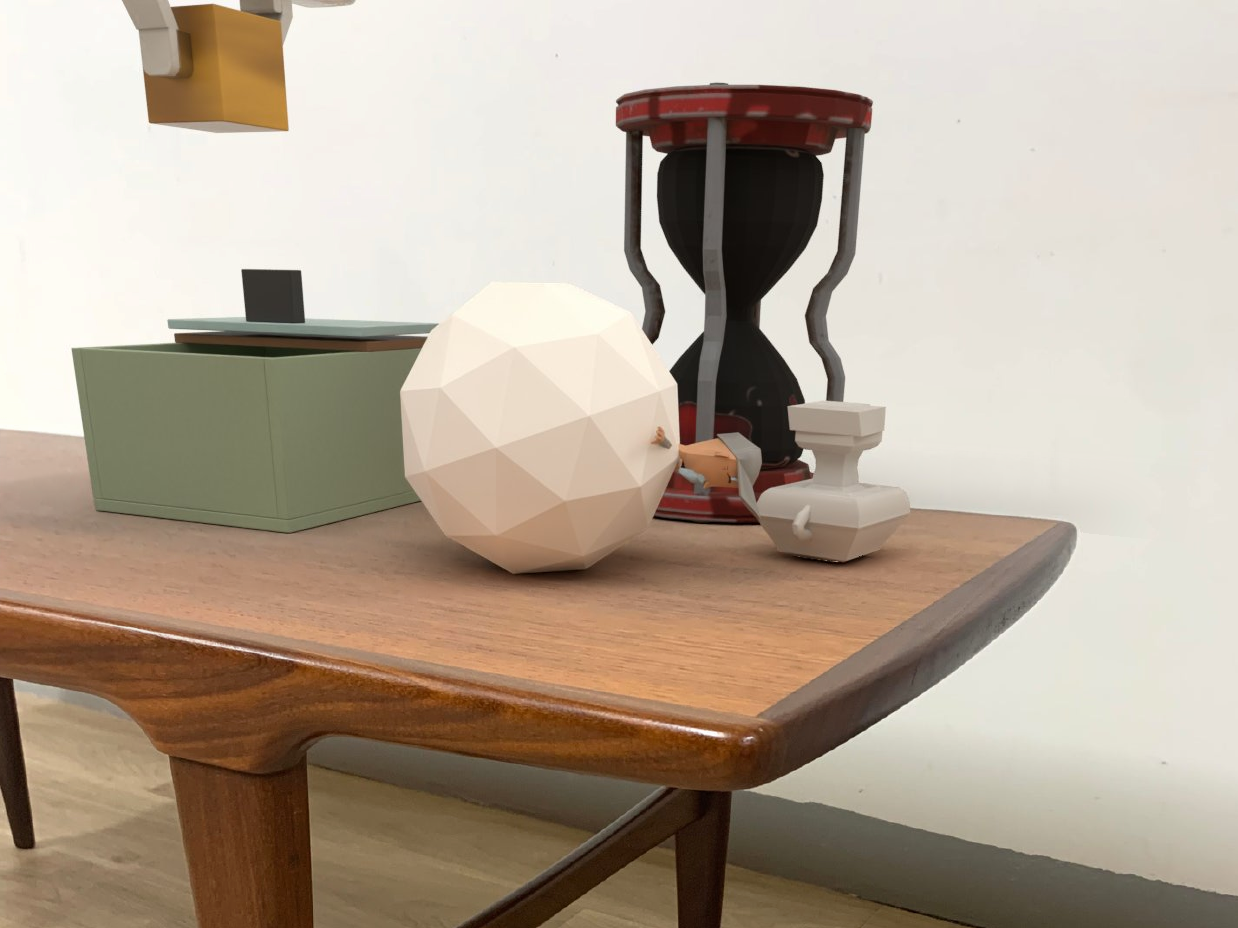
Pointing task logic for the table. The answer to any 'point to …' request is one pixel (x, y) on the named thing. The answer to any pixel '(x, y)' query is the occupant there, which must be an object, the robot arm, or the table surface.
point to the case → (247, 427)
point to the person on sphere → (550, 429)
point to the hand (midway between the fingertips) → (214, 86)
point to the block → (224, 74)
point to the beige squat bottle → (833, 487)
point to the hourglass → (740, 256)
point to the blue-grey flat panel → (290, 312)
